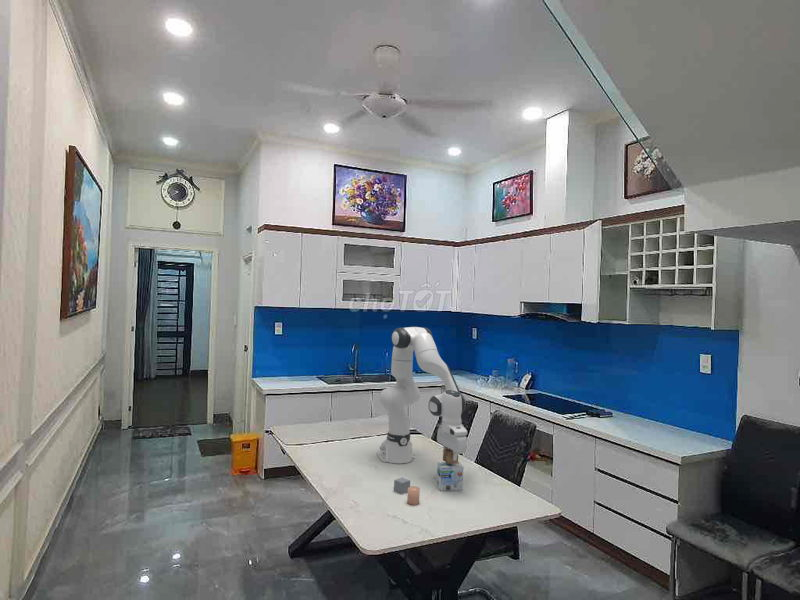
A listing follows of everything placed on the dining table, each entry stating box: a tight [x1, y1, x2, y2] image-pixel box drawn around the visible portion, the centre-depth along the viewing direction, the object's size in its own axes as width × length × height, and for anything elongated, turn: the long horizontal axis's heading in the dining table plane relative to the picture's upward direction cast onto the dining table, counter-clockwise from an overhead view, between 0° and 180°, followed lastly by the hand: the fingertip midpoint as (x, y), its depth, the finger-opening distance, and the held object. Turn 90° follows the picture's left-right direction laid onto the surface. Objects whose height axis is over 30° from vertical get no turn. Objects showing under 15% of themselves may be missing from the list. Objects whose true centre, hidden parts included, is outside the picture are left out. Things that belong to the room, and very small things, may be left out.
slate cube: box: [393, 476, 411, 495], centre depth 223 cm, size 5×5×5 cm
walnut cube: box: [442, 448, 459, 464], centre depth 228 cm, size 5×5×5 cm
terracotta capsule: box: [406, 485, 421, 506], centre depth 210 cm, size 5×5×6 cm
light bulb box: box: [436, 461, 464, 492], centre depth 228 cm, size 11×7×11 cm, turn 101°
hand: (450, 457), depth 228 cm, fingers closed on walnut cube, 5 cm apart
